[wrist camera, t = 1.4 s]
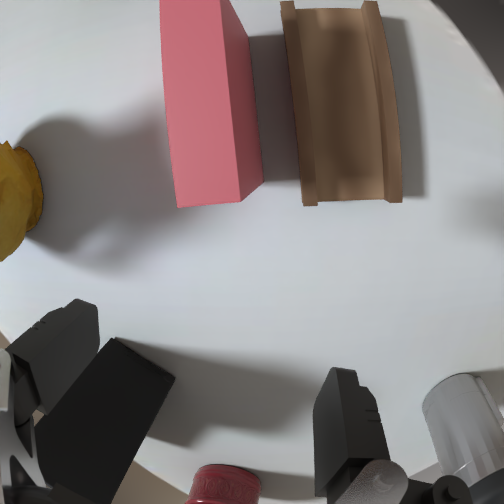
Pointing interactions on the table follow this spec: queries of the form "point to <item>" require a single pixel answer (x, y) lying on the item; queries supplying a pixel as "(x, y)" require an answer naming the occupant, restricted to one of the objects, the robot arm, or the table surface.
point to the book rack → (343, 104)
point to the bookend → (101, 423)
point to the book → (209, 103)
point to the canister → (224, 486)
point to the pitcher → (17, 197)
